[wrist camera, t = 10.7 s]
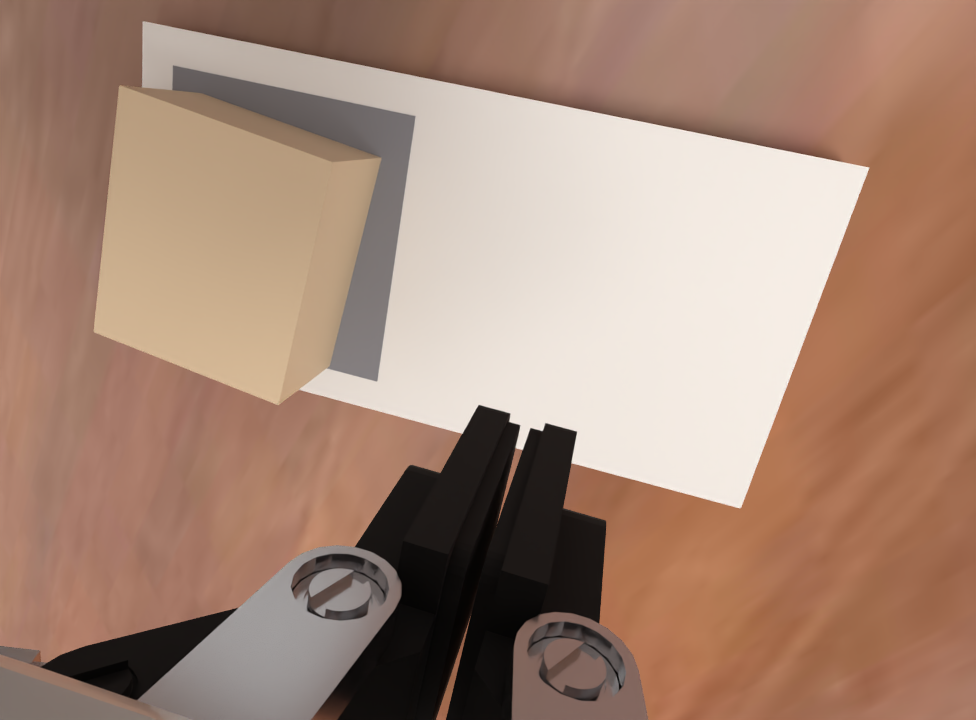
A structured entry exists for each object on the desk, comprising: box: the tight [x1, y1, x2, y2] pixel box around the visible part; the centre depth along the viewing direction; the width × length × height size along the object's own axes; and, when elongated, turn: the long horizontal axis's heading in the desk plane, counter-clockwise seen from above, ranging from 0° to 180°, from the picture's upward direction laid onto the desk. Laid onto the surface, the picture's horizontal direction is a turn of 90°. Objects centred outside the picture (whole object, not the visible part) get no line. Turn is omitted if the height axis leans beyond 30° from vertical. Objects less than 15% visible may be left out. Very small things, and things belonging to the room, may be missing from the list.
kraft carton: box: [94, 85, 381, 405], centre depth 28 cm, size 10×8×5 cm
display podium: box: [142, 21, 869, 508], centre depth 31 cm, size 15×30×3 cm, turn 79°
